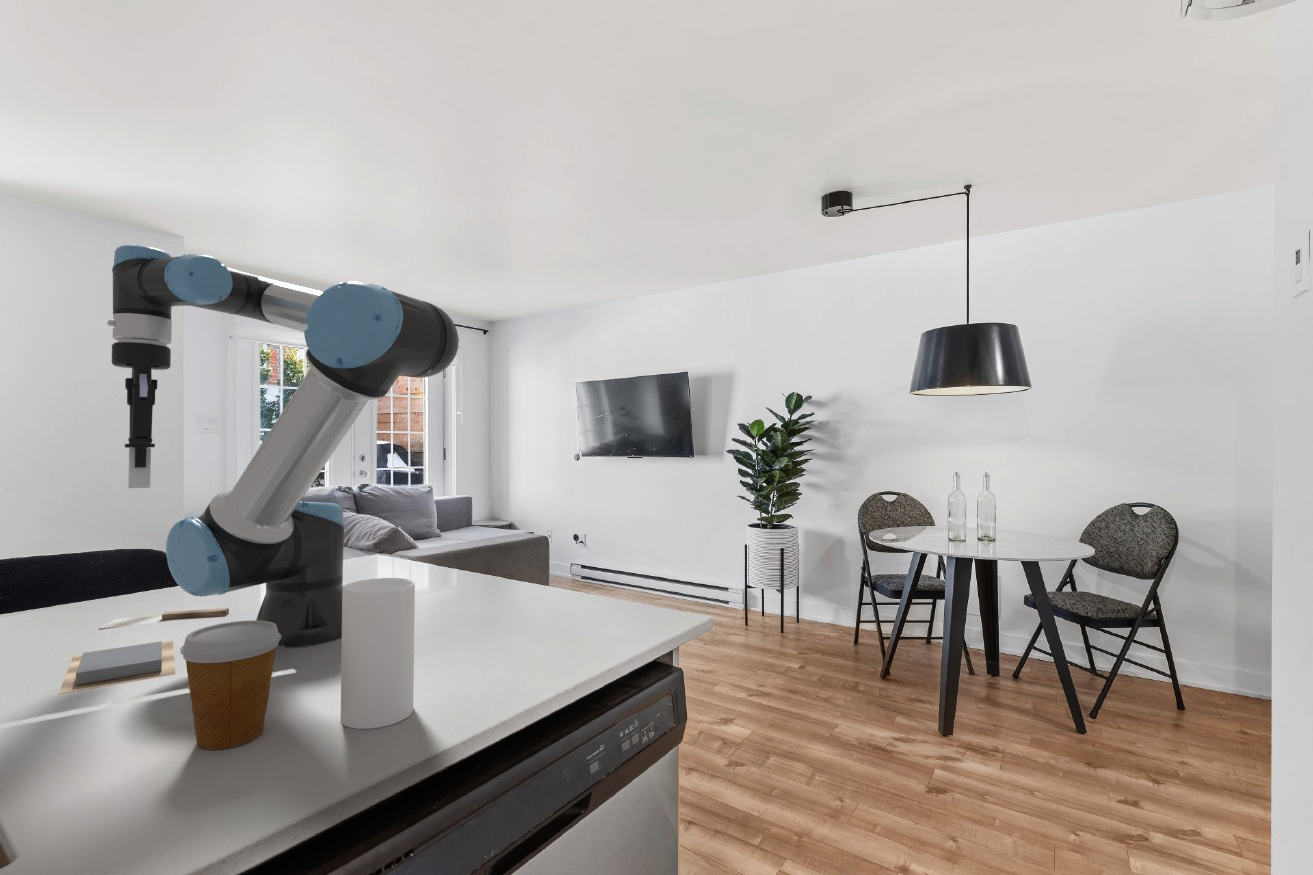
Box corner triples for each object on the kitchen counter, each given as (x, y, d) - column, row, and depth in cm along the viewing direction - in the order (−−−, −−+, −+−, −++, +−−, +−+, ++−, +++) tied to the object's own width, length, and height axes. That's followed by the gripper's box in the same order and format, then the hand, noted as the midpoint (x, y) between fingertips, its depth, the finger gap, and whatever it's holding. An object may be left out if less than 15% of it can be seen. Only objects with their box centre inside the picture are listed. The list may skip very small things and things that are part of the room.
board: (73, 659, 96) (73, 655, 96) (172, 644, 103) (172, 640, 103) (58, 698, 82) (58, 693, 82) (175, 677, 89) (175, 673, 89)
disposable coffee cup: (212, 719, 76) (213, 619, 76) (294, 717, 77) (296, 618, 77) (156, 758, 67) (158, 644, 67) (251, 756, 68) (253, 643, 68)
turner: (232, 613, 122) (232, 605, 122) (221, 622, 117) (221, 613, 117) (115, 621, 117) (115, 612, 117) (98, 630, 111) (98, 621, 111)
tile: (83, 652, 92) (76, 673, 84) (161, 641, 98) (161, 659, 90) (82, 664, 92) (75, 686, 84) (161, 652, 98) (161, 671, 90)
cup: (367, 735, 73) (369, 595, 73) (326, 718, 77) (328, 586, 77) (427, 710, 80) (429, 582, 80) (386, 695, 84) (388, 574, 84)
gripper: (110, 345, 106) (108, 485, 106) (113, 336, 97) (110, 491, 97) (167, 350, 111) (164, 484, 111) (174, 342, 102) (171, 489, 102)
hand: (139, 487), depth 104 cm, fingers closed
